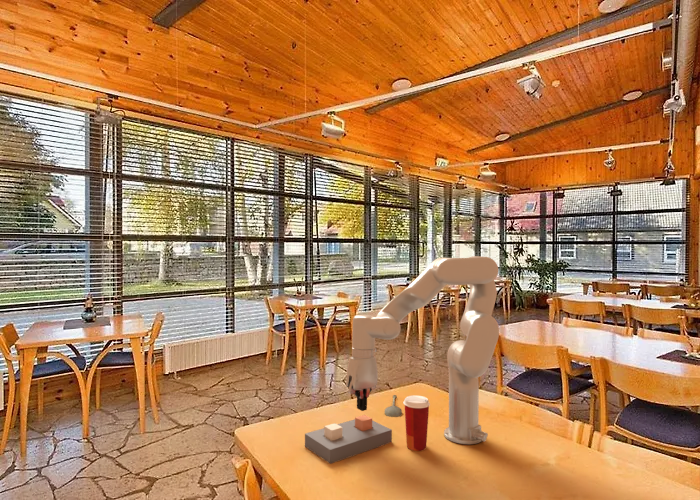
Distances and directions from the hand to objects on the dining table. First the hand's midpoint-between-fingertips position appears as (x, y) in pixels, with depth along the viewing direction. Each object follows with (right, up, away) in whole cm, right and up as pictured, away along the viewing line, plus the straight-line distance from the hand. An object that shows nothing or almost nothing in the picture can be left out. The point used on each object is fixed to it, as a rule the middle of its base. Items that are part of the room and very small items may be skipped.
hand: (361, 409), depth 143 cm
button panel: (-4, -10, -4) cm, 11 cm away
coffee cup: (+17, -10, -5) cm, 20 cm away
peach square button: (+1, -7, 0) cm, 7 cm away
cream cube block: (-9, -7, -7) cm, 14 cm away
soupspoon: (+14, -11, +30) cm, 35 cm away
